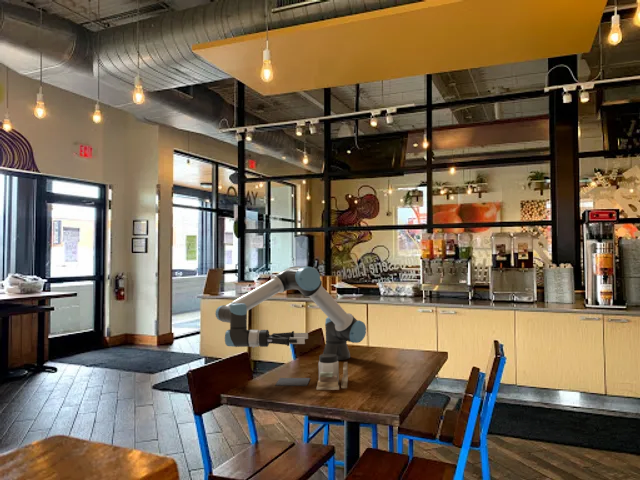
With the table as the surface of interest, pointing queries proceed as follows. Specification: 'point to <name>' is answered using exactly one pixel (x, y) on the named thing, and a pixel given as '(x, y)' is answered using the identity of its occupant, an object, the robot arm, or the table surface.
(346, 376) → the rack
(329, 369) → the jar
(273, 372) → the table surface
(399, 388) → the table surface
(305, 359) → the table surface
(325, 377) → the offcuts
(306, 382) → the mat
